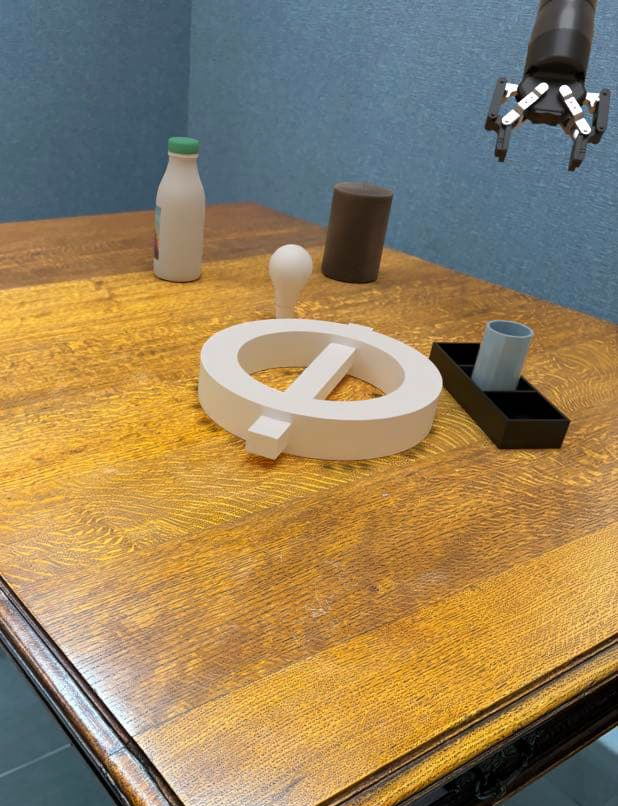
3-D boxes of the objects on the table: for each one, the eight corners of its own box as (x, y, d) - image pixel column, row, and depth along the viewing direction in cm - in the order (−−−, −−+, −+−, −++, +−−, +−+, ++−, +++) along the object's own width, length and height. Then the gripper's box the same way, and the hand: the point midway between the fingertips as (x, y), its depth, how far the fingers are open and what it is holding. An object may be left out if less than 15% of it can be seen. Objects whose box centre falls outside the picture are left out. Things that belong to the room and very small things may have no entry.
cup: (499, 389, 102) (520, 320, 97) (518, 408, 98) (542, 337, 93) (459, 389, 101) (478, 319, 96) (477, 408, 97) (498, 337, 92)
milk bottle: (209, 275, 132) (219, 140, 120) (183, 286, 127) (191, 146, 115) (171, 264, 135) (177, 132, 124) (143, 275, 130) (147, 137, 118)
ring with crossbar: (360, 346, 112) (367, 313, 109) (480, 444, 91) (492, 406, 88) (167, 361, 103) (169, 325, 100) (251, 474, 82) (256, 432, 79)
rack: (479, 367, 110) (486, 342, 107) (560, 448, 92) (571, 420, 90) (426, 366, 108) (432, 341, 106) (498, 449, 91) (508, 421, 89)
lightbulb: (292, 334, 114) (303, 254, 108) (254, 323, 116) (263, 244, 110) (311, 322, 118) (323, 245, 112) (274, 311, 121) (284, 235, 114)
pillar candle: (350, 286, 133) (367, 189, 124) (309, 269, 139) (322, 175, 130) (389, 278, 138) (408, 184, 129) (348, 261, 144) (363, 171, 135)
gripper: (508, 19, 101) (485, 135, 98) (628, 32, 99) (607, 150, 96) (495, 65, 108) (473, 174, 106) (607, 77, 106) (587, 189, 103)
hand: (537, 162), depth 101 cm, fingers open, 8 cm apart
